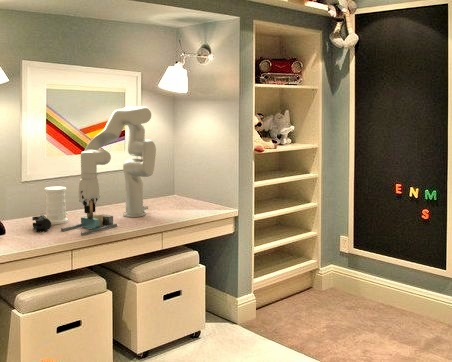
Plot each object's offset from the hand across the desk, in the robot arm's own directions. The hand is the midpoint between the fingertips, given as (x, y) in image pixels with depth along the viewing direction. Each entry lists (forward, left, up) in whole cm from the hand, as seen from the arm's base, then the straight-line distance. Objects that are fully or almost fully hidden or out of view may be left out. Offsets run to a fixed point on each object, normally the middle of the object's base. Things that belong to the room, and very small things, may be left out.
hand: (89, 212), depth 281 cm
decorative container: (0, -25, -8) cm, 26 cm away
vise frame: (0, 0, -8) cm, 8 cm away
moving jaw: (0, 0, -8) cm, 8 cm away
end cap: (+16, -17, -9) cm, 25 cm away
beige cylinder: (-5, 0, -8) cm, 10 cm away
